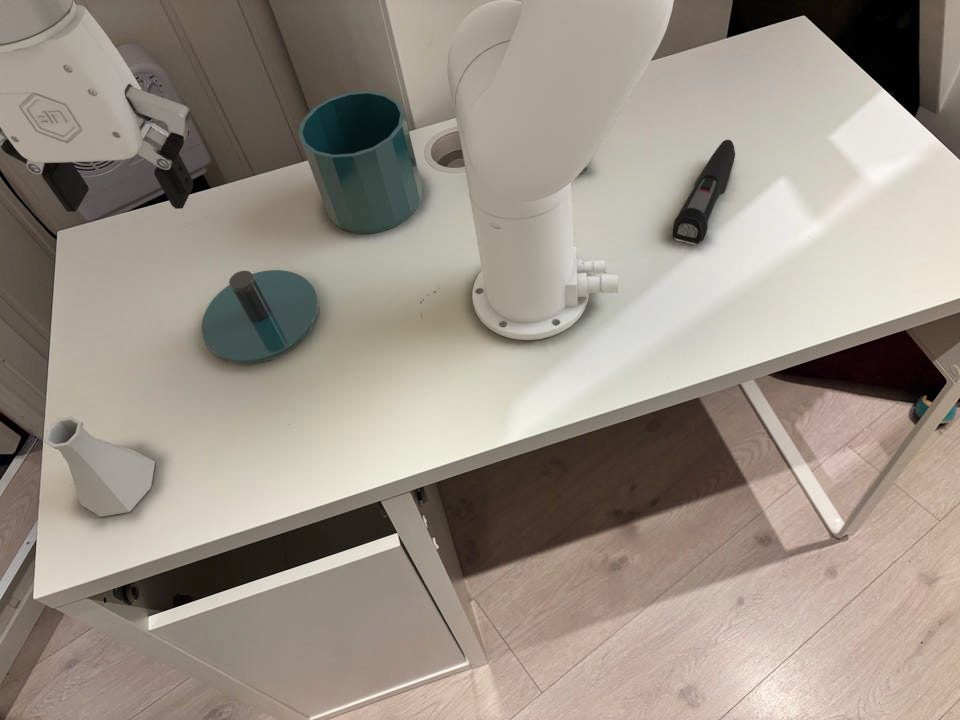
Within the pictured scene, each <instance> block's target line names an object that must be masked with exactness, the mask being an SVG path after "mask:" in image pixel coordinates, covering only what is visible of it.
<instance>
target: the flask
mask: <svg viewBox="0 0 960 720" xmlns="http://www.w3.org/2000/svg"><path fill="white" fill-rule="evenodd" d="M43 443H44V444H45V445H47V446H49V447H51V448H52V449H54V450H58V451H59V452H60V454H61V455H62V457H63V459H64V461H65V462H66V464H67V465H68V468H69V472H70V475H71V477H72V480H73V484H74V487H75V490H76V495H77V498H78V502H79V504H80V505H81V506H82V507H84V508H85V509H87V510H89V511H90V512H92V513H93V514H95V515H97V516H98V517H100V518H101V517H102V518H103V517H107V516H113V515H114V516H115V515H119V514H127V513H131V511H132V510H133V509H134V507H135V506H136V505H137V504H138V503H140V501H141V500H142V499H143V497H144V496H145V495H146V494H147V493H148V491H150V489H151V487H152V483H153V477H154V471H155V465H156V461H154V460H152V459H151V458H150V457H148V456H145V455H144V454H142V453H140V452H138V451H136V450H134V449H132V448H129V447H125V446H122V445H118V444H114V443H111V442H109V441H105V440H103V439H99V438H97V437H94V436H93V435H91V434H90V433H89V432H88V431H87V430H86V429H85V428H84V423H83V422H82V420H80V419H79V418H76V417H74V416H72V415H70V416H64V417H58V418H57V419H56V420H55V421H54V422H53V423H52V424H50V426H48V427H47V429H46V431H45V435H44V438H43Z"/></svg>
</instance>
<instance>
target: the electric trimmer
mask: <svg viewBox="0 0 960 720" xmlns="http://www.w3.org/2000/svg"><path fill="white" fill-rule="evenodd" d="M735 159H736V150H735V145H734V143H733V141H732V140H730V139H725V140H722V141H721V143H720V144H719V145H718V147H716V149H715V150H714V152H713V153H712V155H711V156H710V158H709V160H708V161H707V163H706V164H705V166H704V168H703V169H702V171H701V172H700V174H699V176H698V177H697V178H696V181H695V183H694V185H693V188H692V190H691V192H690V193H689V195H688V197H687V198H686V200H685V203H684V204H683V206H682V208H681V210H680V211H679V212H678V215H677V216H676V217H675V219H674V221H673V225H672V230H671V231H672V233H671V235H672V237H673V240H675V241H678V242H680V243H686V244H689V245H694V246H695V245H696V244H697V245H698V244H699V243H700V242H703V240H704V239H705V237H706V235H707V232H708V226H709V220H710V217H711V215H712V211H713V210H714V207H715V204H716V202H717V200H718V199H719V197H720V195H723V194H724V193H725V192H726V191H727V190H726V189H727V187H728V183H729V180H730V177H731V173H732V170H733V166H734V163H735Z"/></svg>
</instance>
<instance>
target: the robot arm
mask: <svg viewBox="0 0 960 720" xmlns="http://www.w3.org/2000/svg"><path fill="white" fill-rule="evenodd" d="M674 1H675V0H493V1H489V2H486V3H484V4H483V5H480V6H478V7H477V8H475V9H474V10H472V11H471V12H470V13H469V14H467V16H466V17H465V18H464V19H463V20H462V21H461V23H460V24H459V25H458V27H457V29H456V31H455V32H454V35H453V36H452V40H451V42H450V45H449V49H448V54H447V64H446V65H447V66H446V67H447V68H446V69H447V80H448V81H447V82H448V88H449V92H450V96H451V103H452V106H453V109H454V116H455V121H456V125H457V130H458V137H459V141H460V146H461V152H462V158H463V164H464V168H465V169H464V170H465V175H466V182H467V187H468V194H469V201H470V207H471V213H472V220H473V223H474V224H473V226H474V231H475V236H476V242H477V248H478V254H479V261H480V266H481V271H480V272H479V273H478V275H477V276H476V278H475V281H474V283H473V287H472V290H471V291H472V293H471V294H472V295H471V296H472V297H471V299H472V305H473V308H474V311H475V314H476V316H477V317H478V319H479V320H480V321H481V323H482V324H483V325H484V326H485V327H487V329H488V330H490V331H492V332H494V333H496V334H497V335H500V336H503V337H505V338H508V339H513V340H518V341H519V340H520V341H534V340H542V339H545V338H551V337H553V336H556V335H558V334H560V333H563V332H564V331H565V330H567V329H568V328H570V327H572V326H573V325H574V324H575V323H576V322H577V321H579V319H580V318H581V316H582V315H583V314H584V312H585V310H586V308H587V305H588V303H589V295H590V294H594V293H596V294H597V293H600V294H618V293H619V274H616V273H615V274H606V259H603V260H602V259H601V260H591V261H588V260H587V261H583V258H577V246H575V245H574V230H573V228H574V227H573V195H572V182H573V181H574V180H575V179H576V178H578V176H579V175H580V174H581V173H582V172H583V171H582V170H583V169H584V168H585V167H586V168H587V166H588V165H589V163H590V161H592V159H593V157H594V156H595V154H596V153H597V151H598V150H599V148H600V147H601V145H602V143H603V142H604V140H605V138H606V137H607V135H608V133H609V132H610V130H611V128H612V127H613V125H614V123H615V122H616V121H617V119H618V117H619V115H620V113H621V112H622V110H623V109H624V107H625V106H626V104H627V102H628V100H629V98H630V97H631V95H632V93H633V92H634V90H635V89H636V86H637V85H638V83H639V81H640V80H641V79H642V77H643V75H644V73H645V72H646V70H647V68H648V67H649V65H650V63H651V61H652V59H653V57H654V56H655V54H656V53H657V51H658V49H659V47H660V45H661V43H662V41H663V38H664V36H665V34H666V32H667V29H668V26H669V22H670V19H671V16H672V12H673V8H674ZM190 119H191V110H190V108H189V107H188V106H186V105H184V104H182V103H179V102H177V101H174V100H171V99H168V98H165V97H162V96H159V95H156V94H154V93H151V92H148V91H145V90H142V88H141V85H140V84H139V83H138V81H137V79H136V77H135V76H134V74H133V73H132V71H131V69H130V68H129V65H128V64H127V63H126V61H125V60H124V58H123V56H122V55H121V53H120V52H119V51H118V49H117V48H116V46H115V45H114V43H113V42H112V41H111V38H109V36H108V34H107V33H106V32H105V30H103V28H102V26H101V25H100V24H99V23H98V22H97V20H96V19H95V17H94V16H93V15H92V14H91V13H90V12H89V11H88V9H87V8H86V7H85V6H84V5H81V4H76V2H75V0H0V147H1V150H2V151H3V152H4V153H5V154H6V155H8V156H10V157H12V158H14V159H16V160H18V161H20V162H22V163H23V164H25V166H26V169H27V170H28V171H29V172H30V173H32V174H34V175H38V176H40V175H41V178H42V179H43V180H44V182H45V183H46V184H47V186H48V187H49V189H50V190H51V191H52V193H53V194H54V195H55V197H56V198H57V200H58V201H59V202H60V204H61V205H62V207H63V208H64V209H65V210H66V212H68V213H73V212H76V211H77V210H78V209H79V207H80V206H81V204H82V203H83V201H84V199H85V198H86V195H87V194H88V192H89V190H90V188H89V185H88V183H87V182H86V181H85V179H84V178H83V176H82V174H81V173H80V172H79V170H78V169H77V167H76V166H75V164H74V163H86V162H87V163H89V162H111V161H123V160H124V161H125V160H129V159H132V158H134V157H135V156H137V155H138V156H140V157H141V158H143V159H144V160H146V161H147V162H149V163H151V164H152V165H154V166H155V169H154V173H153V175H154V176H155V178H156V180H157V182H158V184H159V185H160V188H161V189H162V191H163V193H164V194H165V196H166V197H167V199H168V201H169V203H170V205H171V206H172V208H174V209H176V210H179V209H180V210H182V209H184V207H185V205H186V203H187V201H188V199H189V196H190V194H191V193H192V191H193V189H194V181H193V178H192V176H191V174H190V172H189V170H188V168H187V167H186V165H185V163H184V161H183V159H182V156H181V155H180V152H181V150H182V149H183V148H184V145H185V143H186V141H187V139H188V137H189V135H190V130H189V128H190ZM156 120H157V121H159V122H163V123H164V124H165V125H166V126H167V130H165V129H164V128H162V127H161V126H159V125H158V124H156V123H155V122H156ZM146 137H147V138H148V139H149V140H151V141H153V142H155V143H156V144H158V145H159V146H161V148H160V149H159V148H157V147H156V146H154V145H152V144H151V143H149V142H147V141H146V140H145V139H146ZM588 274H600V275H592V276H589V275H588Z"/></svg>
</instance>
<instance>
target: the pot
mask: <svg viewBox="0 0 960 720" xmlns="http://www.w3.org/2000/svg"><path fill="white" fill-rule="evenodd" d="M408 125H409V124H408V121H407V117H406V113H405V110H404V108H403V106H402V104H401V103H400V101H398V100H397V99H396V98H394V97H392V96H391V95H389V94H387V93H383V92H377V91H372V90H366V91H365V90H362V91H350V92H347V93H343V94H340V95H336V96H334V97H329V98H328V99H326V100H325V101H323V102H322V103H320V104H318V105H316V106H315V107H313V108H312V109H311V110H310V111H309V112H308V113H307V114H306V115H305V116H304V117H303V119H302V120H301V123H300V126H299V129H298V132H297V135H298V138H299V140H300V143H301V146H302V149H303V152H304V154H305V157H306V161H307V162H308V165H309V169H310V170H311V173H312V175H313V179H314V181H315V183H316V186H317V189H318V192H319V194H320V197H321V200H322V202H323V205H324V208H325V210H326V213H327V215H328V218H329V219H330V220H331V222H332V223H333V224H334V225H335V226H337V228H340V229H342V230H343V231H346V232H349V233H355V234H367V235H368V234H377V233H381V232H384V231H388V230H391V229H393V228H395V227H397V226H400V225H401V224H402V223H404V222H405V221H407V220H408V219H409V218H411V216H412V215H413V214H414V213H415V212H416V211H417V210H418V208H419V207H420V205H421V202H422V197H423V185H422V182H421V178H420V173H419V169H418V164H417V159H416V155H415V151H414V147H413V143H412V137H411V133H410V129H409V126H408Z"/></svg>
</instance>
